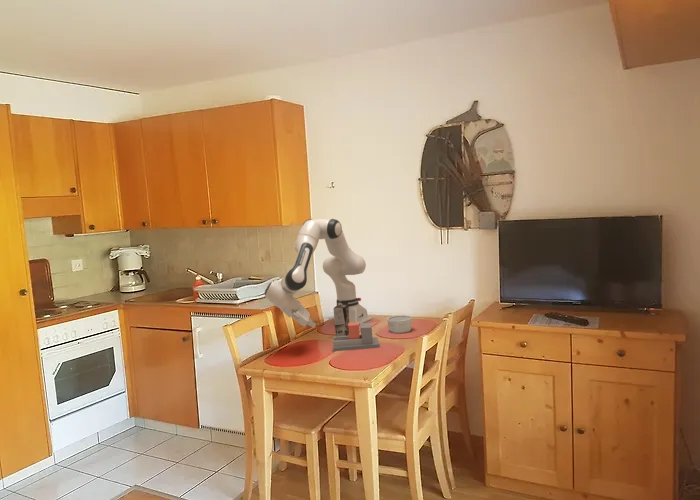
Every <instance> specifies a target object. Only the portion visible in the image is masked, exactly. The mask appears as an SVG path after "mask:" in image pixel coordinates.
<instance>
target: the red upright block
mask: <svg viewBox="0 0 700 500" xmlns="http://www.w3.org/2000/svg"><path fill="white" fill-rule="evenodd" d="M348 327H349V340H351V339H360V335H361V333H360V324H359V323H358V322H355V323H348Z"/></svg>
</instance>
